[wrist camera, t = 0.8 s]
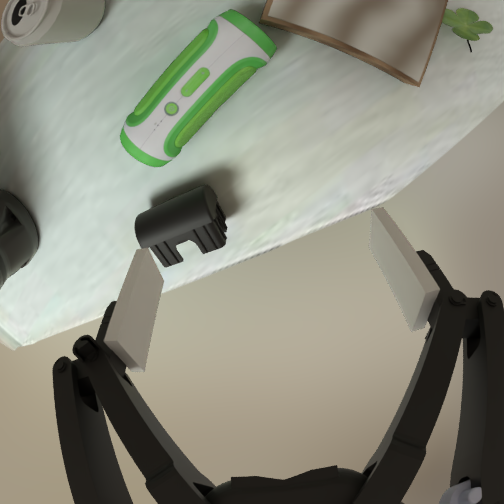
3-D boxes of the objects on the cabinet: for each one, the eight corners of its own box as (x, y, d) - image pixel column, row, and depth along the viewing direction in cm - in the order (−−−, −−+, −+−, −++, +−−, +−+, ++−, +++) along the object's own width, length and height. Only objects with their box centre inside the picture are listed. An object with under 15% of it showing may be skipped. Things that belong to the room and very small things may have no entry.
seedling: (448, 27, 24) (440, -2, 19) (495, 45, 20) (494, 15, 15) (438, 57, 26) (430, 27, 21) (489, 77, 22) (489, 47, 17)
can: (68, -11, 17) (9, -20, 8) (117, -11, 19) (65, -30, 10) (50, 41, 21) (-12, 49, 12) (96, 44, 23) (38, 47, 14)
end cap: (207, 174, 35) (201, 199, 30) (230, 217, 40) (229, 248, 34) (143, 203, 37) (128, 231, 32) (168, 241, 41) (159, 272, 36)
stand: (259, 23, 24) (261, 18, 21) (293, -66, 16) (299, -78, 13) (404, 83, 28) (420, 87, 25) (432, 1, 19) (449, 0, 16)
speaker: (174, 156, 34) (159, 181, 28) (129, 122, 30) (105, 140, 24) (276, 52, 26) (286, 50, 20) (228, 12, 23) (225, -1, 17)
